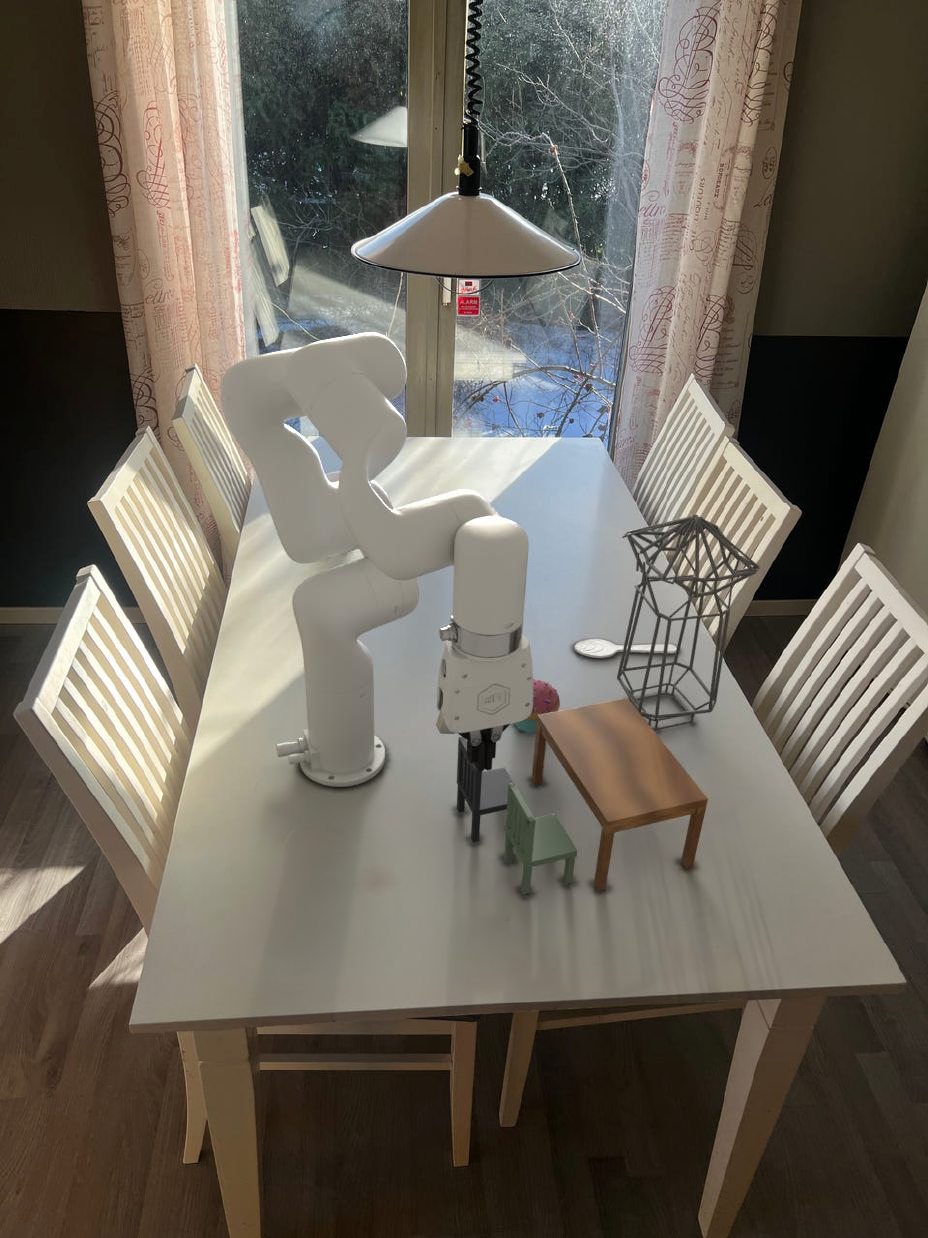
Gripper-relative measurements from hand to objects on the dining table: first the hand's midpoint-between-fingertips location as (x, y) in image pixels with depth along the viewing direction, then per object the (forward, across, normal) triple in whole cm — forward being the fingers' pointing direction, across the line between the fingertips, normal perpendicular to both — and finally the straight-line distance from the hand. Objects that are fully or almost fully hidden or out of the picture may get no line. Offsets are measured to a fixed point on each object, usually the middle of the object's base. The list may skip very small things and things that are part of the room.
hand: (480, 763), depth 115 cm
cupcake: (+21, +20, +29) cm, 41 cm away
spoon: (+20, +44, +43) cm, 65 cm away
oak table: (+21, +22, +6) cm, 31 cm away
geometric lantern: (+21, +41, +25) cm, 52 cm away
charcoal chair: (+21, +6, +11) cm, 24 cm away
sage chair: (+21, +9, 0) cm, 23 cm away
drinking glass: (+20, +5, +94) cm, 97 cm away
